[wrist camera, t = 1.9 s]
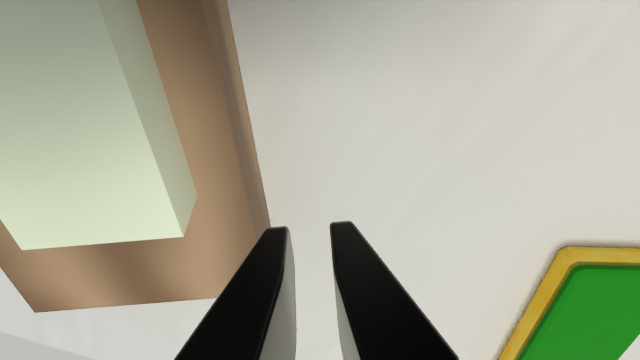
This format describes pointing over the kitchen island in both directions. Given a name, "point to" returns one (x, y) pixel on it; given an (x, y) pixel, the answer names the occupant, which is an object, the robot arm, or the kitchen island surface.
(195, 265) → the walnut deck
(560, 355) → the dish sponge
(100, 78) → the sage tile
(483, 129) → the kitchen island surface
